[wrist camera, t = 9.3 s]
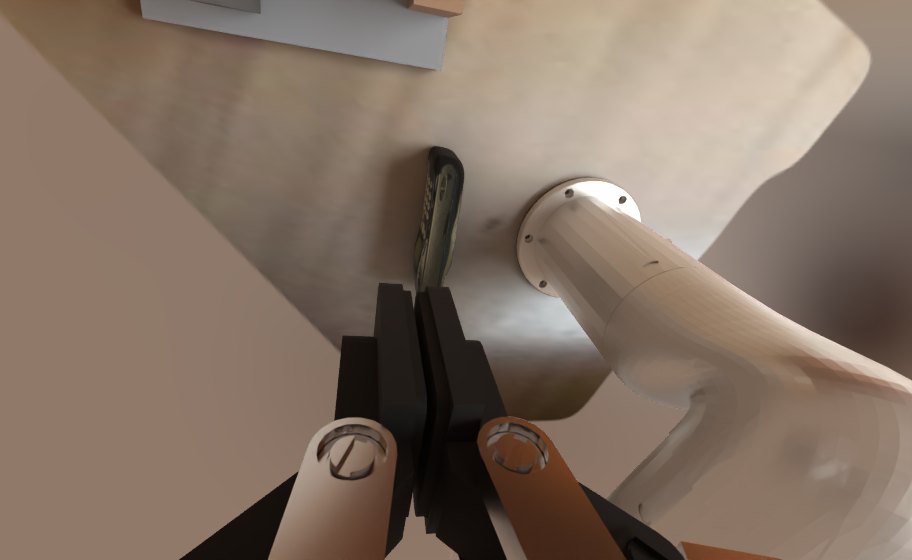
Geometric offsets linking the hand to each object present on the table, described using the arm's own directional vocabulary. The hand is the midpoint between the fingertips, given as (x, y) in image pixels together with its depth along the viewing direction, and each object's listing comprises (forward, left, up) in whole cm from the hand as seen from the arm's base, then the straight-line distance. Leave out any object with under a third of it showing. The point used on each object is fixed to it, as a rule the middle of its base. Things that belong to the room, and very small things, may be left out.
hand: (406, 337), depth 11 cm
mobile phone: (-5, +8, -30) cm, 31 cm away
